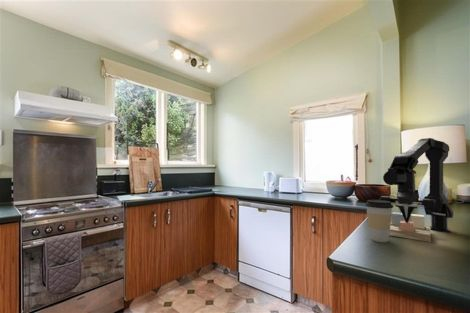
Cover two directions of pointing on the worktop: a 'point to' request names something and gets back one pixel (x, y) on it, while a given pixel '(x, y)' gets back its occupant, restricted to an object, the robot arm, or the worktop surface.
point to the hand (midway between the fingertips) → (406, 222)
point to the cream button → (418, 221)
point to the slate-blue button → (397, 218)
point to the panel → (411, 233)
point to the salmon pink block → (407, 226)
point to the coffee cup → (379, 219)
